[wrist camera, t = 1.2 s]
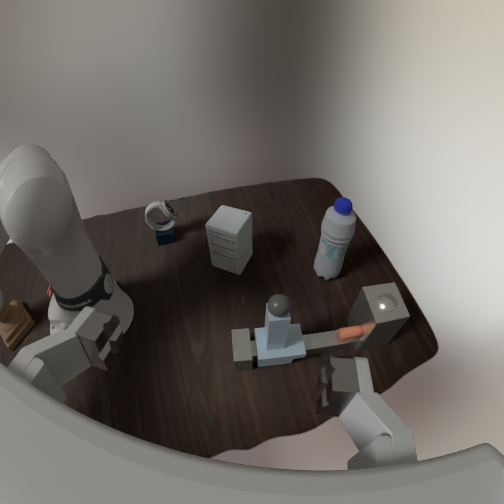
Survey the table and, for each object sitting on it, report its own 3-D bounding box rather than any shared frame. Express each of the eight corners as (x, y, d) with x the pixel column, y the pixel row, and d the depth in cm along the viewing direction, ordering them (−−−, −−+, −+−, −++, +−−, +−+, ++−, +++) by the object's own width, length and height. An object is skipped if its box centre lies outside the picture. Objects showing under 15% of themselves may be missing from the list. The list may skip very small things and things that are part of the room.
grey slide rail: (235, 371, 46) (231, 345, 38) (232, 332, 52) (228, 299, 43) (387, 347, 48) (412, 317, 40) (375, 314, 54) (395, 281, 45)
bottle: (311, 259, 65) (325, 188, 50) (339, 262, 64) (359, 192, 50) (311, 281, 60) (327, 208, 46) (340, 284, 59) (364, 213, 45)
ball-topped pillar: (258, 367, 46) (259, 320, 34) (254, 338, 50) (254, 282, 38) (302, 362, 46) (321, 313, 34) (296, 333, 50) (311, 277, 38)
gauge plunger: (339, 341, 46) (342, 336, 45) (337, 331, 48) (339, 326, 46) (373, 334, 47) (376, 329, 45) (370, 325, 48) (373, 320, 47)
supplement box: (225, 245, 68) (221, 203, 59) (253, 254, 66) (253, 211, 57) (210, 266, 64) (203, 224, 55) (239, 276, 62) (237, 233, 52)
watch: (182, 240, 70) (174, 206, 62) (152, 247, 68) (141, 213, 60) (180, 227, 73) (172, 193, 66) (152, 233, 72) (141, 200, 64)
